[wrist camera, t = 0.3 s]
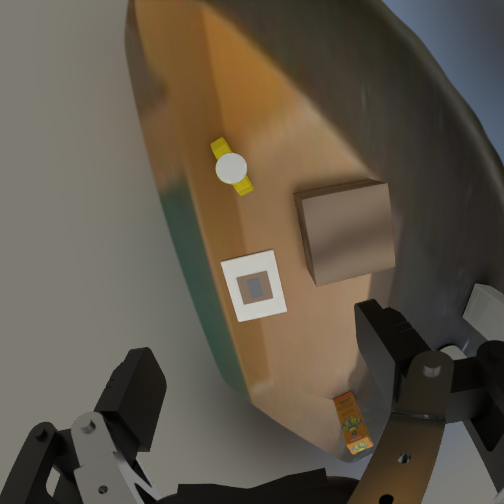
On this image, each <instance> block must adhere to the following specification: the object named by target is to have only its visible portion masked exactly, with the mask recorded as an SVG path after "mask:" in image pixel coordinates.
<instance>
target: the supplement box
mask: <svg viewBox="0 0 504 504" xmlns="http://www.w3.org/2000/svg"><path fill="white" fill-rule="evenodd" d="M334 404H335V407H336V411H337V414H338V418H339V421H340V425H341V428H342V432H343V435H344V439H345V442H346V445H347V447H348V448H349V450H350V451H351V453H352V454H356V453H357V452H359V451H362V450H364V449H366V448H369V447H372V446H373V442H372V440H371V438H370V435H369V432H368V430H367V427H366V424H365V422H364V419H363V416H362V414H361V411H360V409H359V406H358V403H357V400H356V399H355V397H354V395H353V394H352V392H351V391H350V392H348V393H346V394H344V395H342V396H339V397H337V398H335V399H334Z"/></svg>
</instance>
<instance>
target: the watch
mask: <svg viewBox="0 0 504 504" xmlns="http://www.w3.org/2000/svg"><path fill="white" fill-rule="evenodd" d="M210 147H211V149H212V151H213V153H214V155H215V157H216V159H217V160H218V161H217V163H216V167H215V169H216V174H217V176H218V178H219V179H220V180H221V181H222V182H224V183H227V184H232V185H233V186H234V188H235V189H236V191H237V192H238V193H239V194H240V195H241V196H243V195H245V194H247V193H248V192H250V191H252V190H253V186H252V184H251V182H250V180H249V178H248V177H247V175H246V173H247V164H246V161H245V159H244V158H243V157H242V156H240V155H239V154H236V153H233V152H232V150H231V148H230V147H229V145H228V144H227V142H226V141H225V139H224V138H223V137H221V138H219V139H217V140H216V141H214V142H212V143H211V145H210Z"/></svg>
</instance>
